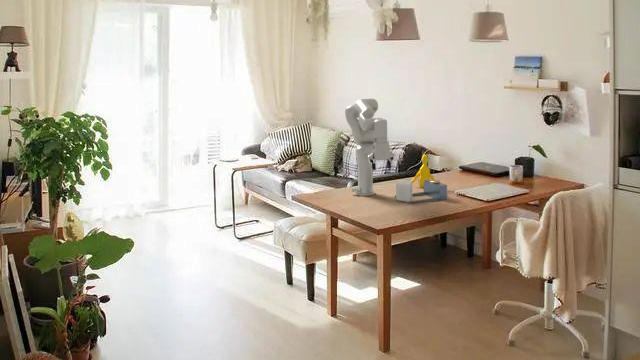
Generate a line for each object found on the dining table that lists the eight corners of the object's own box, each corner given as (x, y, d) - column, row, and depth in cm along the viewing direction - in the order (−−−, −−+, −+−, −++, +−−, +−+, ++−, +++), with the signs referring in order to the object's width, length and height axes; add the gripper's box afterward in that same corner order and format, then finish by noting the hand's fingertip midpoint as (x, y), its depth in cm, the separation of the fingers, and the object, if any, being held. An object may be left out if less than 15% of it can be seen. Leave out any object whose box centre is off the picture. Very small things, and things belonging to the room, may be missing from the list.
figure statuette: (435, 185, 393) (436, 153, 389) (438, 187, 386) (439, 154, 381) (409, 186, 393) (409, 154, 388) (412, 188, 385) (412, 156, 381)
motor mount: (409, 204, 344) (409, 187, 342) (394, 197, 362) (394, 182, 360) (447, 199, 353) (447, 183, 351) (431, 193, 370) (431, 177, 368)
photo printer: (413, 200, 352) (413, 180, 350) (410, 202, 349) (410, 182, 346) (398, 199, 358) (397, 179, 356) (394, 200, 355) (394, 180, 352)
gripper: (370, 142, 335) (370, 171, 338) (397, 139, 341) (397, 168, 344) (364, 140, 342) (365, 169, 345) (391, 138, 347) (391, 166, 351)
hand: (381, 169), depth 344 cm, fingers open, 9 cm apart
